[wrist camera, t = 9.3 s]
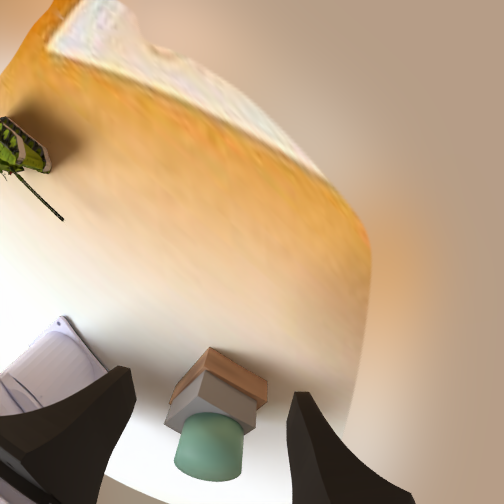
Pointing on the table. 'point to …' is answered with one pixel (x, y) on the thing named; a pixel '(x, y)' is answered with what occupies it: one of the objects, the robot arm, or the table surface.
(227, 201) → the table surface
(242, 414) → the gray block
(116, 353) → the table surface
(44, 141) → the table surface
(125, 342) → the table surface
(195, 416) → the green cylinder
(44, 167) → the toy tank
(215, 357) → the walnut block
